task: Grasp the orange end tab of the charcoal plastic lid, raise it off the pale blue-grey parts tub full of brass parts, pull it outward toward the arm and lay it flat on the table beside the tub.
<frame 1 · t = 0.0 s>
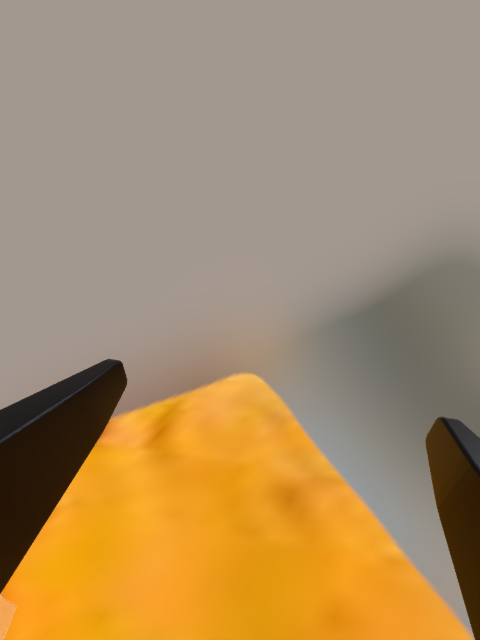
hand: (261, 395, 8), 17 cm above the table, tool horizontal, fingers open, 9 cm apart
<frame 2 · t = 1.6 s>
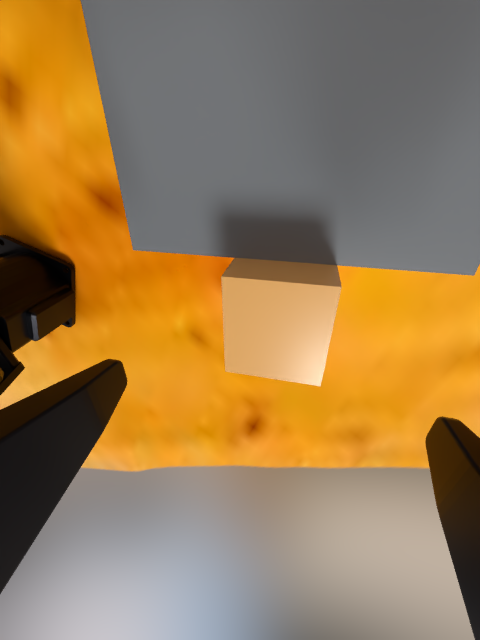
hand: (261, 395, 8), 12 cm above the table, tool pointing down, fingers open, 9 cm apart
lid: (303, 59, 8), point 6 cm above the table, touching tub
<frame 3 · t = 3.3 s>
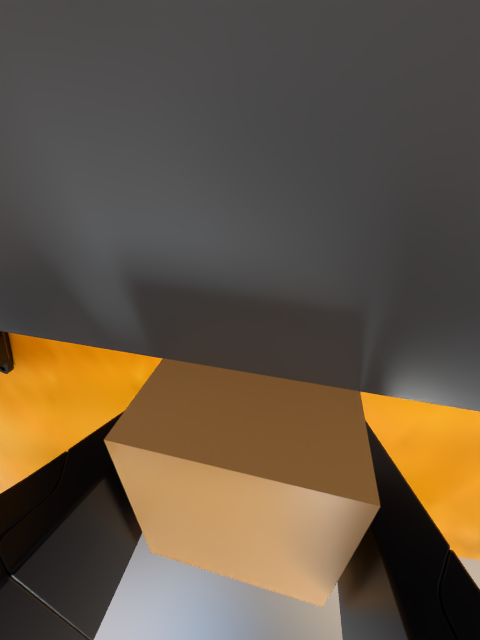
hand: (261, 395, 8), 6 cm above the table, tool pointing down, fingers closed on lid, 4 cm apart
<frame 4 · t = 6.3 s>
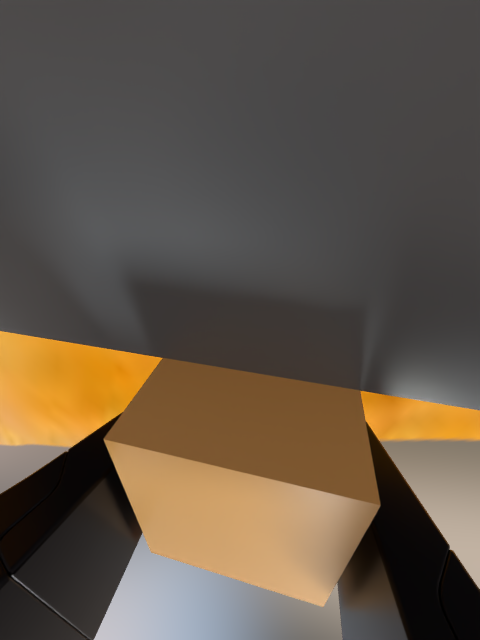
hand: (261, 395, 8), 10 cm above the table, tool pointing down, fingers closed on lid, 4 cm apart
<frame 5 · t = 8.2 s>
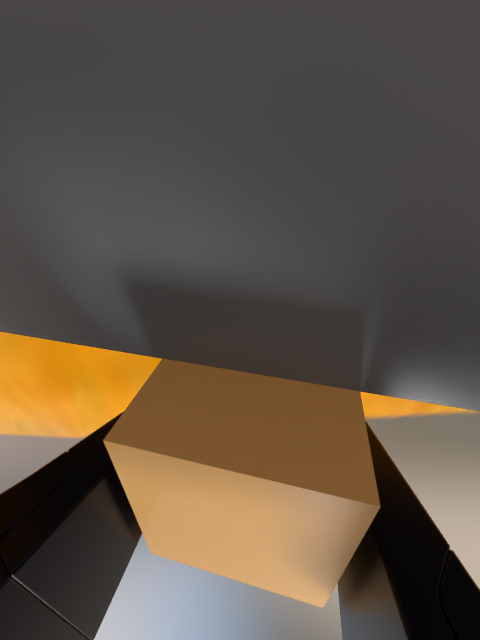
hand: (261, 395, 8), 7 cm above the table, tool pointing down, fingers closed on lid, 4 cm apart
when the fingers open (2 cm above the table, at t = 9.5 s): lid drops 3 cm, on the table.
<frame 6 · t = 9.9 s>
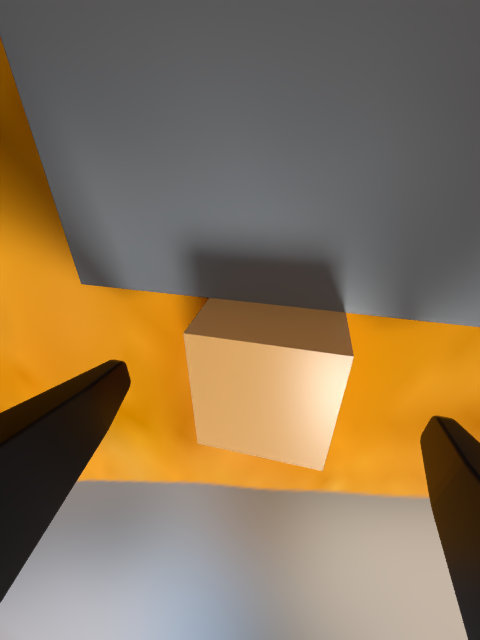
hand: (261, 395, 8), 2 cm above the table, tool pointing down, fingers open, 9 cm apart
lid: (298, 24, 6), on the table
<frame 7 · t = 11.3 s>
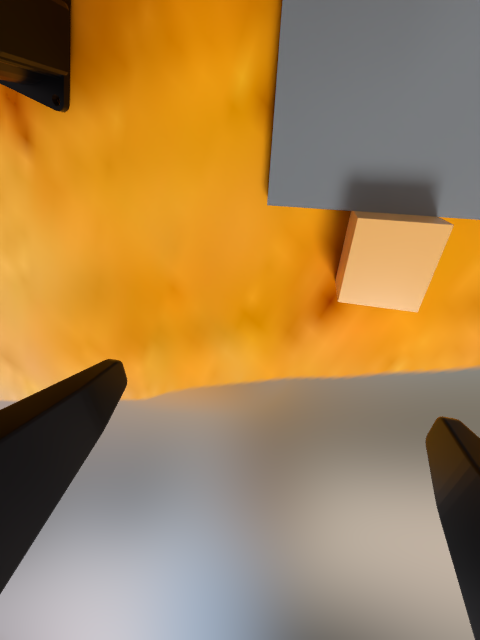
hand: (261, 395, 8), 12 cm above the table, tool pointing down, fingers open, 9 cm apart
lid: (434, 59, 12), on the table
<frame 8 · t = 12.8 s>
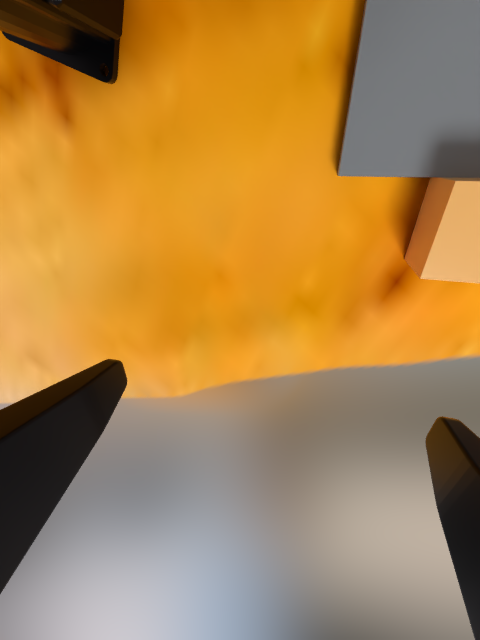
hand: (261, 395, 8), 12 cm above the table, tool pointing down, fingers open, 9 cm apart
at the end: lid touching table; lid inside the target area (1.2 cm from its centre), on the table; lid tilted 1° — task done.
